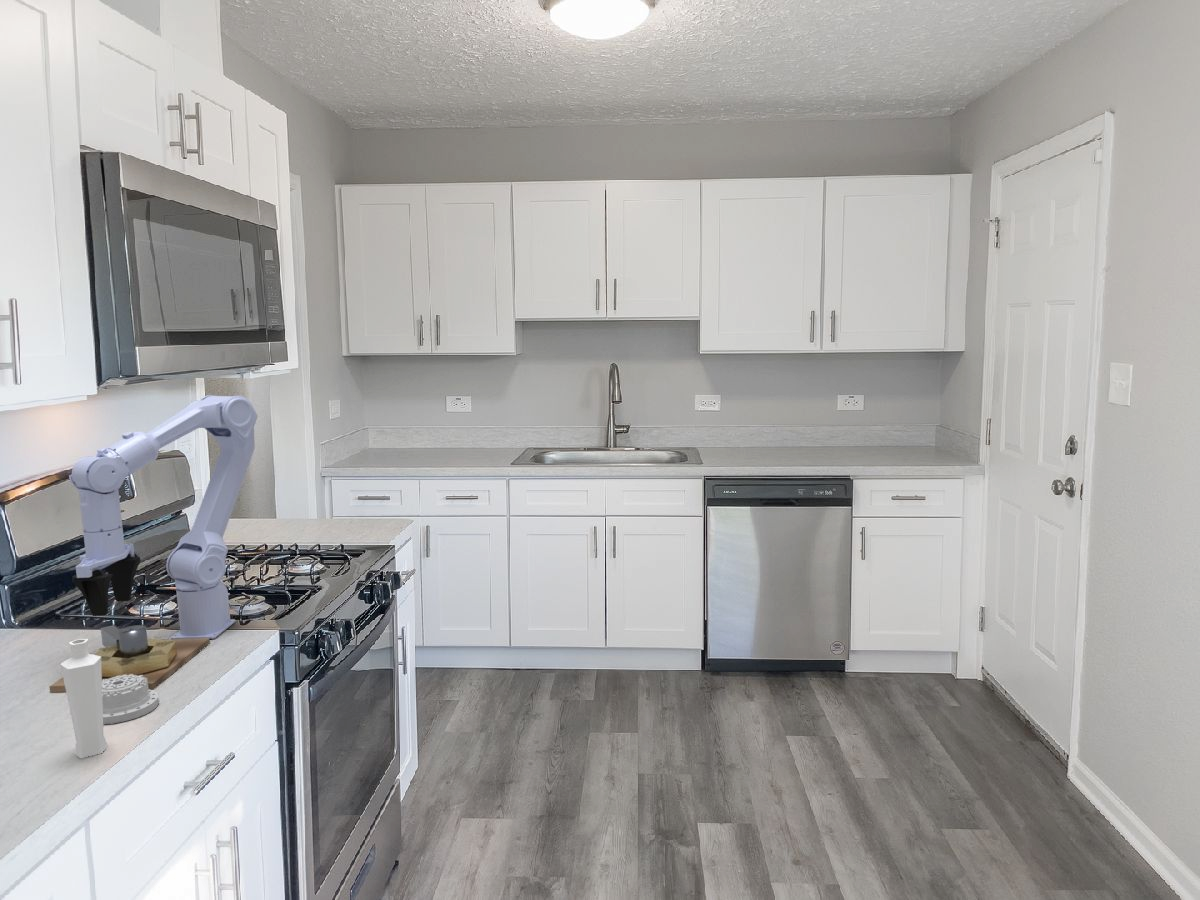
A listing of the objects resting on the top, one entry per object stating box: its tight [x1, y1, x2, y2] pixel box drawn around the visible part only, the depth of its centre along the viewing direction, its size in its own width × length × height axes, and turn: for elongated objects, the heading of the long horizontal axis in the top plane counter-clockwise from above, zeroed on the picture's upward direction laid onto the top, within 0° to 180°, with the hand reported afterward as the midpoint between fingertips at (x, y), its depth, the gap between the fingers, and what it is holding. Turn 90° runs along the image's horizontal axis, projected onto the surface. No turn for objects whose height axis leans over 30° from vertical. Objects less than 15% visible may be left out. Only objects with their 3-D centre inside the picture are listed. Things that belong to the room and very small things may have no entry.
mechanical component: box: [102, 674, 160, 725], centre depth 129 cm, size 10×4×10 cm
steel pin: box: [118, 624, 149, 658], centre depth 144 cm, size 4×4×6 cm
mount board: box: [49, 638, 211, 693], centre depth 147 cm, size 20×16×1 cm
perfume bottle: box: [60, 638, 109, 759], centre depth 116 cm, size 5×4×15 cm
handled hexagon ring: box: [94, 625, 177, 677], centre depth 147 cm, size 20×13×3 cm
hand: (111, 607), depth 149 cm, fingers open, 7 cm apart
